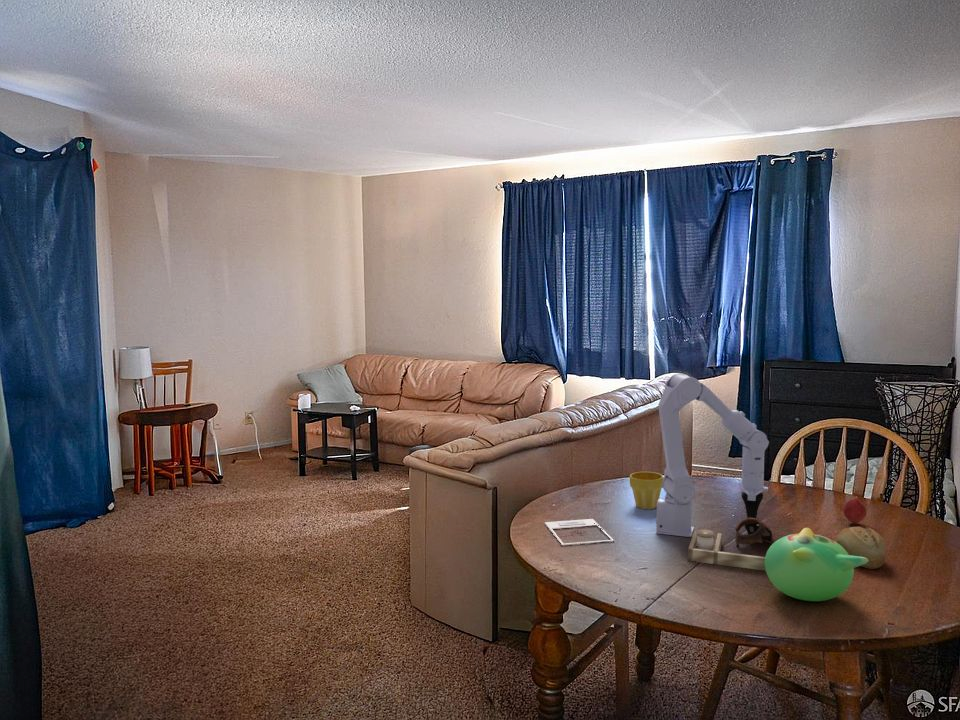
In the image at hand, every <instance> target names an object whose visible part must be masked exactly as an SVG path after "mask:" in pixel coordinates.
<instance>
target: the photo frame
mask: <svg viewBox="0 0 960 720" xmlns="http://www.w3.org/2000/svg"><path fill="white" fill-rule="evenodd" d="M594 523H595V524H594ZM544 525H545V526H546V527H548V528H549V529H548V528H547V529H548V531H551V532H552V533H553V534H552V533H551V532H550V533H551V534H552V536H553V537H554V536H555V537H556V538H557V539H556V538H555V537H554V538H555V539H556V541H557V540H558V541H559V542H560V543H561V544H560V543H559V542H558V541H557V542H558V543H559V544H560V545H570V544H580V543H581V544H582V543H594V542H603V541H614V542H615V540H614V539H613V537H612V536H611V535H609V534H608V533H607V531H606V530H605V529H603V528H602V526H601V525H599V523H598V522H597V521H596V520H595V519H594V518H587V519H586V518H584V519H572V520H571V519H570V520H557V521H545V522H544ZM592 525H597V526H598V525H599V526H598V527H599V528H602V529H603V530H602V529H601V530H602V531H603V532H604V533H605V534H606V535H607V536H608V537H609V538H610V540H609V539H603V540H591V541H577V542H566V543H564V542H563V541H562V539H561V538H560V537H559V536H558V535H557V533H556V532H555V530H553V529H560V530H562V529H561V528H571V527H582V526H592Z"/></svg>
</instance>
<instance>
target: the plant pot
mask: <svg viewBox="0 0 960 720" xmlns="http://www.w3.org/2000/svg"><path fill="white" fill-rule="evenodd" d="M663 480H664V475H663V474H661V473H660V472H655V471H637V472H633V473H631V474H629V486H630V488H631V489H632V493H633V494H632V495H633V498H634V502H635V503H634V504H635V506H636V508H638V507H639V509H642V508H643V509H642V510H655V509H657V502H658V499H660V496H661V491H662V489H663V485H662V484H663Z"/></svg>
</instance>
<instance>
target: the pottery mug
mask: <svg viewBox="0 0 960 720" xmlns="http://www.w3.org/2000/svg"><path fill="white" fill-rule="evenodd" d="M742 527H744V528H745V531H746V532H747V534H743V533H741V532H739V531H740V530H741V528H742ZM734 530H735V531H736V532H735V537H734V539H735V540H734V541H735V544H736V545H737V546H739V544H740V545H746V546H747V545H748V546H749V545H753V544H756V543H760V544H763V542H768V543H771V545H772V544H773V543H774V542H775V541H776V540H775V538H774V537H773V533H772V530H771V528H770V527H769V526H768V525H767V524H766V523H764V522H762V521H761V520H760V519H759V518H757V517H756V518H752V517H748V518H747V517H746V518H745V519H742V520H740V521H739V522H738V523H737V524H736V526H735V529H734Z"/></svg>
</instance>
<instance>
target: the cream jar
mask: <svg viewBox="0 0 960 720" xmlns="http://www.w3.org/2000/svg"><path fill="white" fill-rule="evenodd" d="M696 531H697V547H696V549H702V550H711V551H714V542H715V541H714V537H715V532H714V531H712V530H710V529H698V530H696Z"/></svg>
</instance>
